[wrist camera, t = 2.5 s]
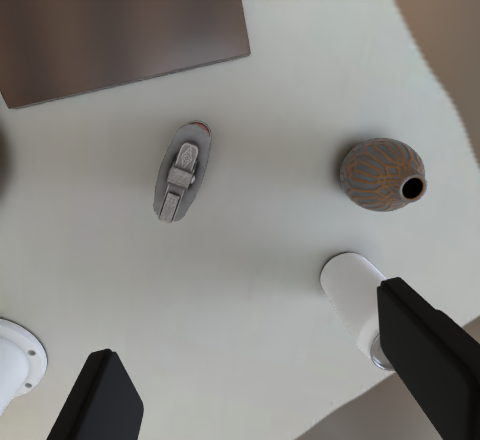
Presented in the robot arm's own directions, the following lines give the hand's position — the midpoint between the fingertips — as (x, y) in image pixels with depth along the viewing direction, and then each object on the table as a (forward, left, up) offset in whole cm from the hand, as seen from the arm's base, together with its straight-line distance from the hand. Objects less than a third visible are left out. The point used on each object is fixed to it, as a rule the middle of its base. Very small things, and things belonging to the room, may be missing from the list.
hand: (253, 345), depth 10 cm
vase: (+15, -1, -23) cm, 27 cm away
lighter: (-3, +4, -23) cm, 23 cm away
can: (+12, -14, -23) cm, 29 cm away
